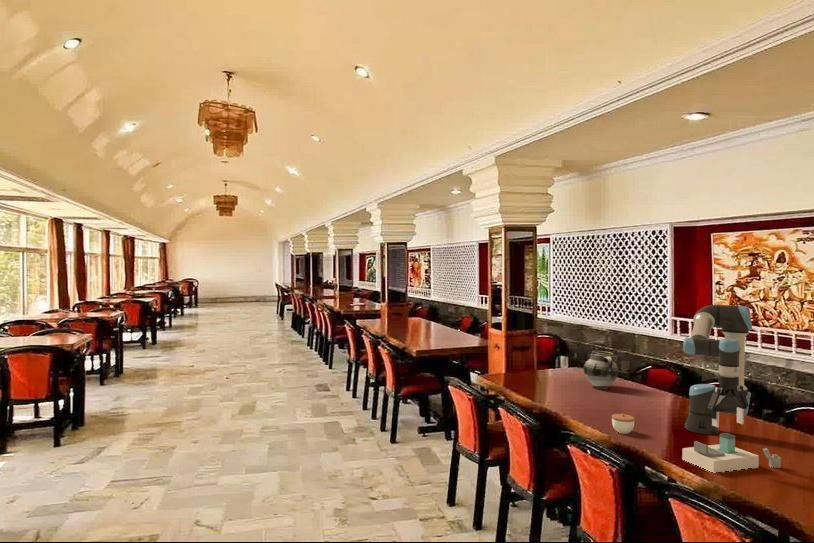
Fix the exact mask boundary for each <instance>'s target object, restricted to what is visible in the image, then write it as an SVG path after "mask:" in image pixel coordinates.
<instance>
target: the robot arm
mask: <svg viewBox="0 0 814 543" xmlns="http://www.w3.org/2000/svg"><path fill="white" fill-rule="evenodd" d="M692 323H693V328H692V331H691V333H690V334H691V335H690V336H689V337H685V338H684V339H683V345H682V346H683V350H682V351H683V352H684V353H685V354H687V355H692V356H705V357H713V358H714V357H716V358H717V357H718V384H719V387H717V386H716V385H715V384H711V383H700V384H699V383H698V384H694V385H691V386H690V387H689V393H688V395H689V397H688V398H689V399H688V400H689V403H688V404H689V405H688V415H687V418H686V421H685V423H684V428H686V429H685V430H687V431H688V432H689V431H690V432H692V433H696V434H702V435H716V434H717V435H718V434H719V430H720V429H719V427H720V413H723V414H730V415H734V416H736V423H737V424H740V425H744V421H745V420H744V419H745V418H744V416H747V414H748V412H749V408H750V407H749V406H750V401H751V397H752V396H751V395H752V393H751V392H750V391H748V388H747V386H746V385H745V359H746V358H745V351H746V348H745V346H746V336H747V335H749V331H752V330H753V325H752V324H753V323H752V316H751V309H750V308H749V307H748V306H745V305H738V304H737V305H733V304H730V305H729V304H727V305H726V304H710V305H707V306H704V307H702V308H700V309H699V310H697V311H696V312H695V314H694V316H693V319H692ZM712 328H716V329H717V328H718V329H721V333H722V334H723V335H724V338H721V339H712V338H711V339H710V337H711V331H712Z"/></svg>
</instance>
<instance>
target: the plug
mask: <svg viewBox="0 0 814 543" xmlns="http://www.w3.org/2000/svg"><path fill="white" fill-rule="evenodd" d="M719 444H720V451H721V452H724V453H726V454H733V453H735V447H736V435H733V434H731V433H728V432H723V433H722V432H721V433H719Z"/></svg>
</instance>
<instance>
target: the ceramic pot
mask: <svg viewBox="0 0 814 543" xmlns="http://www.w3.org/2000/svg"><path fill="white" fill-rule="evenodd" d="M619 372H620V369H619V366H618V365H617V364H616V362H615V355H614V353H613V352H610V351H606V350H605V351H602V350H592V351H591V353H590V356H589V359H588V360H587V361H585V363H584V364H583V374H584V376H585V378H586V380H587V381H588V382H589V383H591V385H592V388H593V389H597V390H608V389H609V386H610V385H612V384H613V383H614V382H615V381H616V379H617V378H618V376H619Z"/></svg>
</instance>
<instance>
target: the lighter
mask: <svg viewBox="0 0 814 543" xmlns="http://www.w3.org/2000/svg"><path fill="white" fill-rule="evenodd" d="M762 451H763V453H764V456H765V458H766V459H767V460H768V467H769V466H770V467H769V468H771V467H772V468H771V469H781V466H782V457H781V456H779V454H776V453H773V454H771V453H770V450H769V448H767V447H764V448H762ZM773 467H774V468H773Z"/></svg>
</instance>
